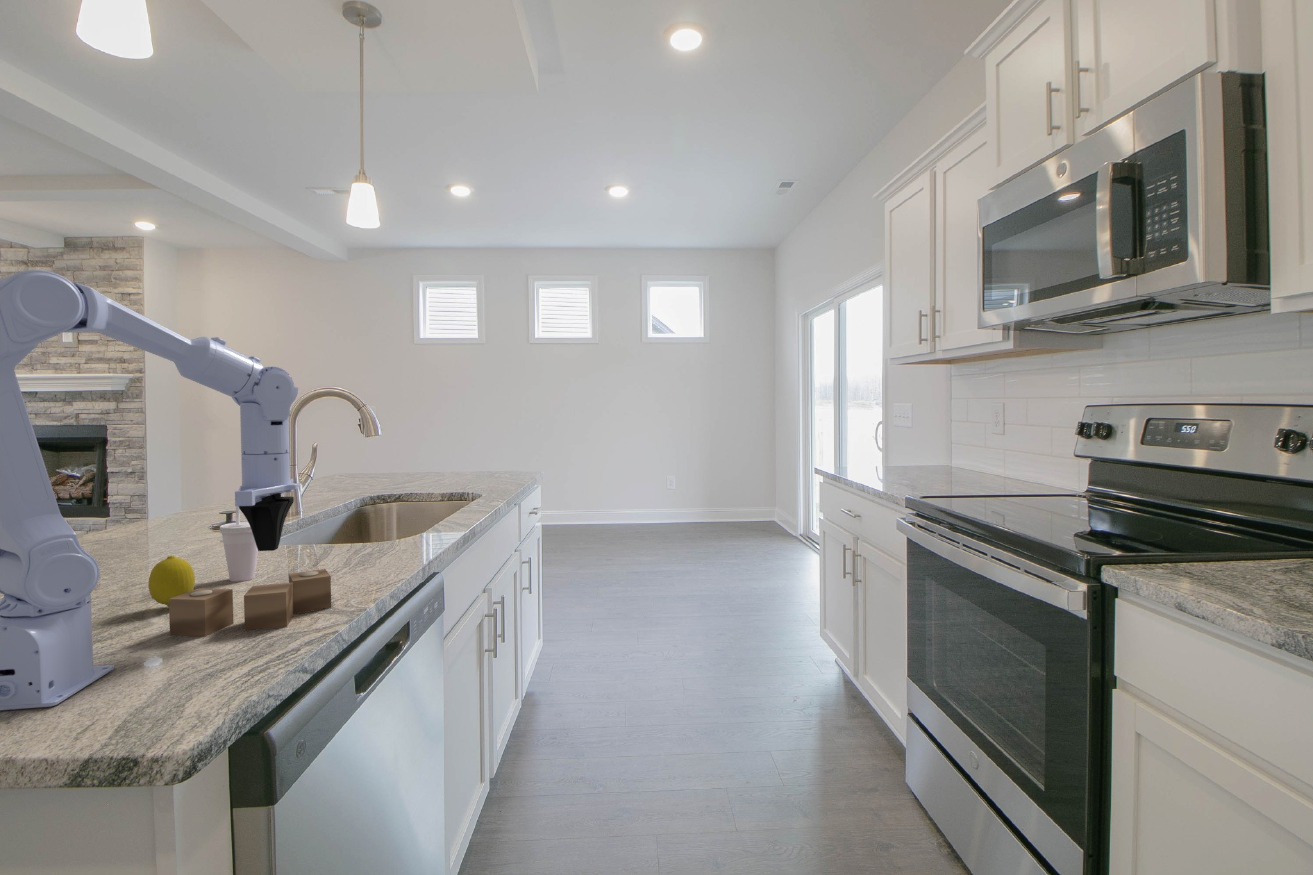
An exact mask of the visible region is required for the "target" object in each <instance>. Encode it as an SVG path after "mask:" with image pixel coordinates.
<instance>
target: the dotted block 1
mask: <svg viewBox="0 0 1313 875" xmlns="http://www.w3.org/2000/svg"><path fill="white" fill-rule="evenodd" d="M233 592H234V591H233V588H202V587H201V588H196V589H195V588H194V589H193V591H190V592H187V593H184V594H182V595H179V596H176V597H173V598H170V599H169V607H168V613H169V614H168V616H169V618H168V620H169V636H171V637H174V636H175V637H177V636H178V637H203V638H204V637H206V638H207V637H208V636H210V635H212V634H215V633H216V632H218V631H221V630H222V629H225V628H227V627H229V626H232V625H234V596H233V594H234V593H233Z"/></svg>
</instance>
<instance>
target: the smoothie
mask: <svg viewBox="0 0 1313 875" xmlns="http://www.w3.org/2000/svg"><path fill="white" fill-rule="evenodd" d="M240 513H241V510H240V509H239V506H235V519H236V521H235V522H230V523H225V524H222V525H220V526H219V532H218V533H220V534H221V537H222V543H223V548H224V553H225V558H226V559H225V560H226V565H227V570H228V577H229V581H230V582H233V583H234V582H238V583H239V582H245V581H246V582H247V581H250V580H253V579H255V578H256V571H257V561H258V553H259V551H258V549H257V546H256V543H255V539H254V536H253V533H252V530H251V527H250V525H249V523H248V521H241V514H240Z"/></svg>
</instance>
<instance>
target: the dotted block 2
mask: <svg viewBox="0 0 1313 875" xmlns="http://www.w3.org/2000/svg"><path fill="white" fill-rule="evenodd" d="M331 578H332V577H331V574H330V573H329V572H328V570H326V568H323V569H322V568H321V569H316V570H315V569H314V570H307V571H299V572H294V573H288V583H292V582H293V615H296V614H301V613H309V612H313V610H315V611H319V610H320V609H321V610H324V609H323V608H327V609H332V585H331V584H332V583H331V582H332V580H331ZM308 611H309V612H308Z"/></svg>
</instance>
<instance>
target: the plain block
mask: <svg viewBox="0 0 1313 875" xmlns="http://www.w3.org/2000/svg"><path fill="white" fill-rule="evenodd" d="M243 609H244V610H243V611H244V612H243V613H244V615H243V617H244V632H250V631H260V630H270V629H279V628H288V626H289V624H290V622H291V621H292V619H293V618H294V614H293V582H292V583H289V582H281V583H272V584H257V585H252V586H251V587H250V588H249V589H248V591H247V592H246V593H245V594H244V595H243Z"/></svg>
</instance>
